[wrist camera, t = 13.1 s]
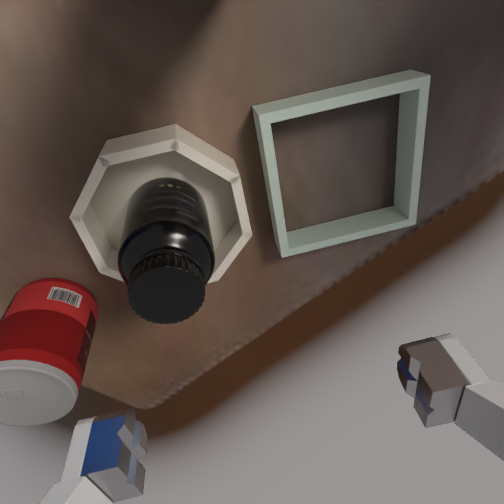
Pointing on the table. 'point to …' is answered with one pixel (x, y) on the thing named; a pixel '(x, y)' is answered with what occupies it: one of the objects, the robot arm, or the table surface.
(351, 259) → the table surface
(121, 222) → the bowl
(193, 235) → the supplement bottle
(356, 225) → the tray
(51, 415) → the canned food
